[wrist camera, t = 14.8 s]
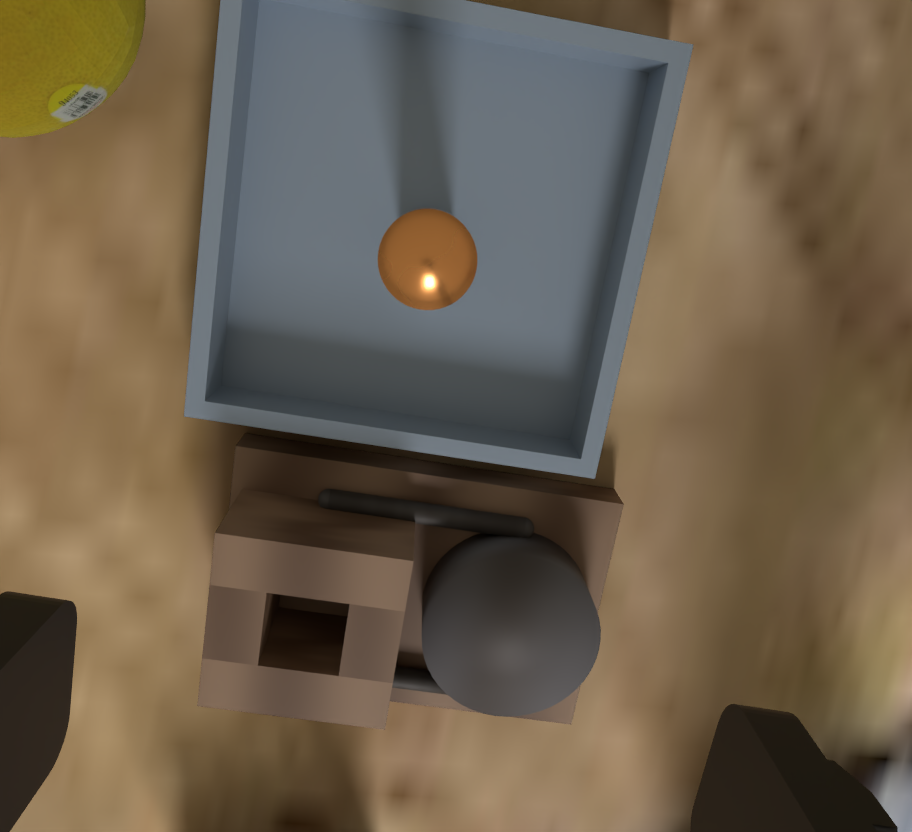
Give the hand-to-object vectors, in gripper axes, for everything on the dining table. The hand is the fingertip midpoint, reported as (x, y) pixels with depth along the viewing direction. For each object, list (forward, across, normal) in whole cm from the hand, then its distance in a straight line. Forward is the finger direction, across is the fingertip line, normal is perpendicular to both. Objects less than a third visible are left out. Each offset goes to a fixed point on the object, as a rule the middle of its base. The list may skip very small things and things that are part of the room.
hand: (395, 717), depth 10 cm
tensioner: (+29, -1, +12) cm, 32 cm away
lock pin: (+28, +1, -5) cm, 29 cm away
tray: (+29, +1, -5) cm, 29 cm away
